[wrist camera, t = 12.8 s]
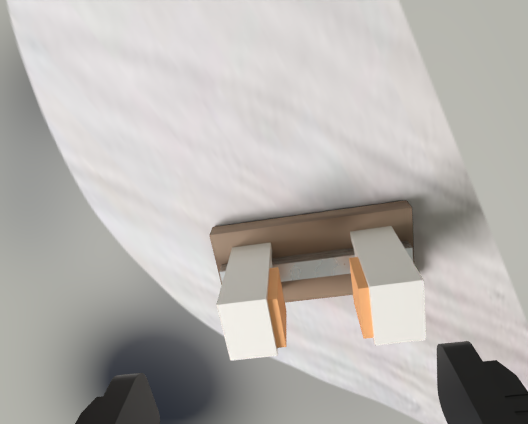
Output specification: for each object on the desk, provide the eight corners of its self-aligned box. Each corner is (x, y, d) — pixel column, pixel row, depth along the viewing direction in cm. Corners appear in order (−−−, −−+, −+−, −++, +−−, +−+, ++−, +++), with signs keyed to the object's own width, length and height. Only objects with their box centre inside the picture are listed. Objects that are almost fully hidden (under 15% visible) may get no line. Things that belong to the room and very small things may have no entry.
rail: (212, 227, 43) (186, 289, 31) (406, 200, 40) (451, 257, 29) (229, 298, 46) (211, 378, 35) (409, 277, 44) (452, 355, 32)
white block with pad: (341, 232, 40) (358, 287, 31) (391, 225, 39) (423, 279, 30) (347, 281, 42) (365, 346, 33) (394, 275, 41) (426, 340, 32)
